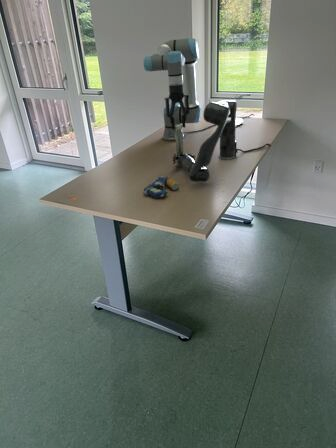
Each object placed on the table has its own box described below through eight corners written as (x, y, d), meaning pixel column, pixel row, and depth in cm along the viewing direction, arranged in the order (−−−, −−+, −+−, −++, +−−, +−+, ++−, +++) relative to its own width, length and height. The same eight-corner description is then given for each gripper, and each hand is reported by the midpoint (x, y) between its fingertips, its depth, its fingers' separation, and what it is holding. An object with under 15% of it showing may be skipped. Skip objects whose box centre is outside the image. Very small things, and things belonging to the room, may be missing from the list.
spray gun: (184, 183, 177) (159, 180, 184) (183, 176, 175) (158, 173, 182) (167, 201, 162) (140, 197, 168) (166, 193, 160) (139, 190, 166)
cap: (174, 128, 190) (173, 125, 189) (180, 126, 191) (180, 124, 190) (176, 129, 187) (176, 126, 186) (183, 128, 188) (183, 125, 187)
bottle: (183, 163, 202) (181, 125, 190) (185, 166, 199) (183, 126, 187) (176, 164, 202) (173, 126, 190) (178, 167, 198) (175, 127, 186)
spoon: (236, 135, 246) (236, 133, 245) (221, 135, 249) (221, 132, 248) (244, 120, 272) (244, 117, 271) (231, 120, 276) (231, 117, 274)
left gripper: (189, 81, 182) (191, 123, 194) (157, 85, 177) (160, 129, 189) (194, 82, 176) (196, 126, 188) (161, 87, 171) (165, 132, 183)
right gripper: (200, 155, 185) (189, 146, 199) (175, 159, 182) (166, 150, 196) (200, 168, 189) (190, 158, 203) (176, 172, 186) (167, 162, 200)
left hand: (178, 127), depth 189 cm, fingers open, 6 cm apart
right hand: (178, 154), depth 199 cm, fingers closed on bottle, 4 cm apart
